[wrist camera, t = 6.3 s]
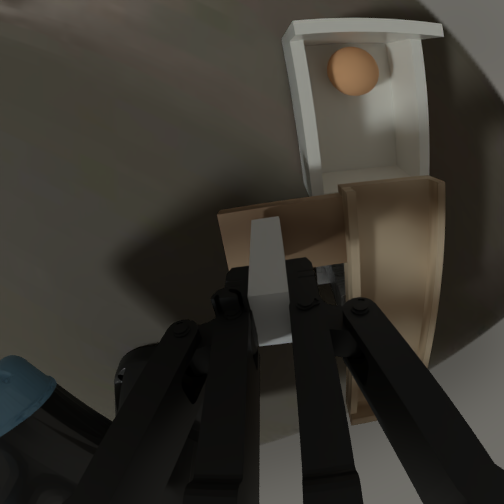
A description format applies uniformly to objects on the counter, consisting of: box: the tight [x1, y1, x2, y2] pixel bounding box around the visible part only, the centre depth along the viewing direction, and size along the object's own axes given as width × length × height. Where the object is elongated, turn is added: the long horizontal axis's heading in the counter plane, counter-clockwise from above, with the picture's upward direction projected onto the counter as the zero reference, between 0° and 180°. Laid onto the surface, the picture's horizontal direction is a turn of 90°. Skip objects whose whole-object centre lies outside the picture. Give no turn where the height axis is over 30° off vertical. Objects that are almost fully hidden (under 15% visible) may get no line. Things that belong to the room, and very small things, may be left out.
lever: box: [217, 175, 445, 425], centre depth 21 cm, size 18×13×5 cm
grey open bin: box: [281, 18, 444, 197], centre depth 19 cm, size 9×12×8 cm
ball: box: [327, 47, 379, 96], centre depth 19 cm, size 4×4×4 cm
